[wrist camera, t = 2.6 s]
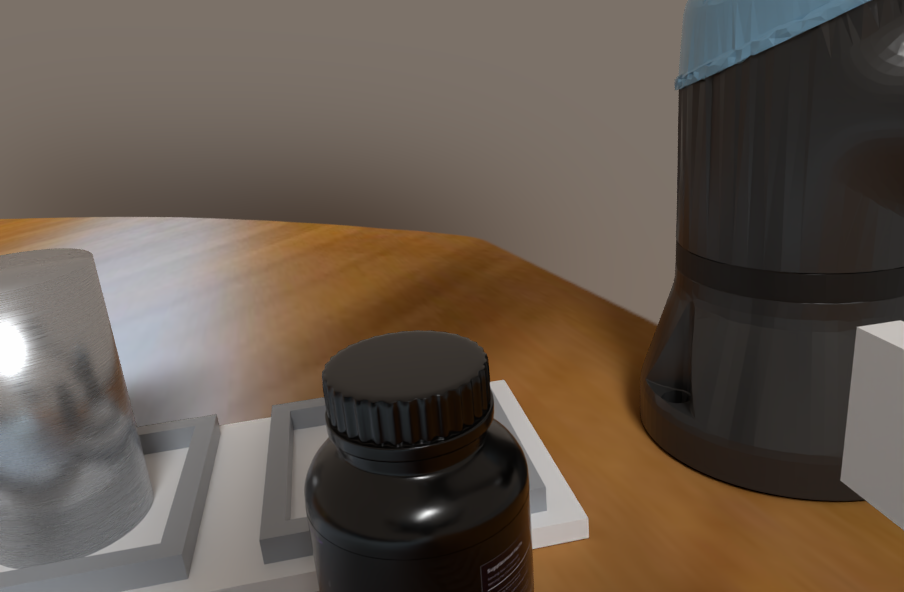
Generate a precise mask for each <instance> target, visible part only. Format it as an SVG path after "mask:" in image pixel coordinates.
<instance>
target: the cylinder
mask: <svg viewBox="0 0 904 592" xmlns="http://www.w3.org/2000/svg"><path fill="white" fill-rule="evenodd" d="M153 500H154V493H153V489H152V485H151V481H150V477H149V473H148V469H147V465H146V461H145V457H144V454H143V450H142V446H141V442H140V438H139V434H138V430H137V426H136V422H135V418H134V415H133V411H132V407H131V403H130V399H129V395H128V391H127V387H126V383H125V379H124V375H123V372H122V368H121V364H120V360H119V356H118V352H117V348H116V344H115V340H114V336H113V333H112V329H111V325H110V321H109V317H108V313H107V309H106V305H105V301H104V297H103V294H102V290H101V286H100V282H99V278H98V274H97V270H96V266H95V262H94V258H93V255H92V253H90V252H89V251H85V250H81V249H44V250H34V251H26V252H19V253H12V254H6V255H1V256H0V565H2V566H5V567H9V568H13V569H22V568H28V567H33V566H39V565H44V564H50V563H55V562H61V561H66V560H72V559H77V558H82V557H85V556H88V555H91V554H93V553H95V552H97V551H99V550H101V549H103V548H105V547H107V546H109V545H111V544H113V543H114V542H116V541H117V540H119V539H120V538H122V537H123V536H125V535H126V534H127V533H129V532H130V531H131V530H133V529H134V528H135V527H136V526H137V525H138V524H139V523H140V522H141V521H142V520H143V519H144V518H145V516H146V515H147V514H148V512H149V510H150V509H151V507H152V504H153Z"/></svg>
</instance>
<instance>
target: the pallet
mask: <svg viewBox="0 0 904 592" xmlns="http://www.w3.org/2000/svg"><path fill="white" fill-rule="evenodd" d="M490 389H491V391H492V393H493V397H494V419H496V420H497V421H499V422H500V423H501V424H502V425H503V426H505V427H506V428H507V429H508V430H509V431H510V433H511V434H512V435H513V436H514V437H515V439H516V440H517V442H518V443H519V445H520V446H521V448H522V450H523V452H524V455H525V457H526V461H527V465H528V473H529V484H530V505H531V530H532V549H535V548H540V547H545V546H550V545H555V544H560V543H565V542H570V541H575V540H580V539H585V538H589V525H588V517H587V515H586V513H585V512H584V510H583V509H582V507H581V505H580V504H579V502H578V500H577V499H576V497H575V495H574V494H573V492H572V490H571V489H570V487H569V486H568V484H567V482H566V481H565V479H564V477H563V476H562V474H561V472H560V471H559V469H558V467H557V466H556V464H555V462H554V461H553V459H552V458H551V456H550V454H549V453H548V451H547V449H546V448H545V446H544V444H543V443H542V441H541V439H540V438H539V436H538V435H537V433H536V431H535V430H534V428H533V426H532V425H531V423H530V421H529V420H528V418H527V416H526V415H525V413H524V411H523V410H522V408H521V407H520V405H519V403H518V402H517V400H516V398H515V397H514V395H513V393H512V392H511V390H510V388H509V387H508V385H507V384H506V382H505V380H500V381H493V382H490ZM325 412H326V405H325V399H324V397H323V398H317V399H310V400H304V401H298V402H291V403H285V404H279V405H272V413H271V417H269V418H263V419H257V420H250V421H244V422H238V423H232V424H226V425H219V423H218V418H217V414H216V415H209V416H203V417H197V418H190V419H184V420H178V421H171V422H165V423H159V424H152V425H146V426H140V427H137V430H138V434H139V438H140V442H141V446H142V450H143V454H144V457H145V461H146V465H147V469H148V473H149V477H150V481H151V485H152V489H153V493H154V500H153V504H152V507H151V509H150V510H149V512H148V514H147V515H146V516H145V518H144V519H143V520H142V521H141V522H140V523H139V524H138V525H137V526H136V527H135V528H134V529H133V530H131V531H130V532H129V533H127V534H126V535H125V536H123V537H122V538H120V539H119V540H117V541H116V542H114V543H113V544H111V545H109V546H107V547H105V548H103V549H101V550H99V551H97V552H95V553H93V554H91V555H88V556H85V557H82V558H77V559H72V560H66V561H61V562H55V563H50V564H44V565H39V566H33V567H28V568H22V569H13V568H9V567H5V566H2V565H0V592H317V591H319V586H318V580H317V574H316V568H315V562H314V556H313V550H312V544H311V539H310V533H309V527H308V521H307V514H306V507H305V496H304V486H305V479H306V475H307V471H308V469H309V466H310V464H311V462H312V460H313V458H314V456H315V454H316V452H317V451H318V449H319V448H320V447H321V445H322V444H323V443H324V442H325V441H326V440H327V439H328V437H329V436H328V433H327V428H326V421H325Z"/></svg>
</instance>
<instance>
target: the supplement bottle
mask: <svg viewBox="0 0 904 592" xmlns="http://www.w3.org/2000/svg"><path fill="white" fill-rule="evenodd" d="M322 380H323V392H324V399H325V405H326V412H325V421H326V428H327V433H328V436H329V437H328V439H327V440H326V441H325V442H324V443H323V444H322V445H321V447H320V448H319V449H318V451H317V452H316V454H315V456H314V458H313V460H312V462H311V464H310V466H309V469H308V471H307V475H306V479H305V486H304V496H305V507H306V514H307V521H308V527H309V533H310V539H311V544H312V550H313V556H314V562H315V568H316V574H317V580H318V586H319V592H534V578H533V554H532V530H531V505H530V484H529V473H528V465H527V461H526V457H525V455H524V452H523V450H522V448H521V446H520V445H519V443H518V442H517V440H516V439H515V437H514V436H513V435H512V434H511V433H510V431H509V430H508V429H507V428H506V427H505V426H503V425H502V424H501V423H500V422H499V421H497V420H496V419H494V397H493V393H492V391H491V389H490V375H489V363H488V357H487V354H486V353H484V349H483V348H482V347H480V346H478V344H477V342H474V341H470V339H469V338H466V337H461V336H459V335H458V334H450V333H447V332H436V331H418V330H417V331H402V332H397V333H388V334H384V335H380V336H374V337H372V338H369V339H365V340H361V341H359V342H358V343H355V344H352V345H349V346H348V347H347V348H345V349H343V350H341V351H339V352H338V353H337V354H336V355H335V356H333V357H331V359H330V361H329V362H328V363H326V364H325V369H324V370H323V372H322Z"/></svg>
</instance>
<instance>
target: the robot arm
mask: <svg viewBox="0 0 904 592" xmlns="http://www.w3.org/2000/svg"><path fill="white" fill-rule="evenodd" d="M678 89H679V116H678V177H677V223H676V267H675V269H676V270H675V279H674V283H673V286H672V289H671V291H670V294H669V297H668V299H667V302H666V305H665V307H664V310H663V313H662V315H661V318H660V321H659V324H658V326H657V329H656V332H655V334H654V337H653V340H652V342H651V345H650V348H649V350H648V353H647V356H646V358H645V361H644V364H643V367H642V371H641V376H640V416H641V419H642V422H643V425H644V427H645V428H646V430H647V432H648V433H649V435H650V436H651V437H652V438H653V439H654V441H655V442H656V443H657V444H659V445H660V446H661V447H662V448H663V449H664V450H665V451H667V452H668V453H669V454H671V455H672V456H674V457H675V458H677V459H678V460H680V461H681V462H683V463H685V464H687V465H688V466H690V467H692V468H694V469H696V470H698V471H700V472H702V473H705V474H707V475H710V476H712V477H714V478H717V479H720V480H722V481H725V482H728V483H731V484H734V485H737V486H741V487H744V488H748V489H752V490H756V491H760V492H764V493H770V494H775V495H780V496H786V497H793V498H801V499H812V500H828V501H853V500H866V501H867V502H868V503H870V504H871V505H872V506H874V507H875V508H876V509H877V510H879V511H880V512H881V513H882V514H884V515H885V516H886V517H888V518H889V519H890V520H891V521H893V522H894V523H895V524H897V525H898V526H899V527H900V528H902V529H903V530H904V0H688V2H687V4H686V7H685V10H684V16H683V27H682V40H681V52H680V64H679V76H678V77H677V78H676V79H675V90H678Z"/></svg>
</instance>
